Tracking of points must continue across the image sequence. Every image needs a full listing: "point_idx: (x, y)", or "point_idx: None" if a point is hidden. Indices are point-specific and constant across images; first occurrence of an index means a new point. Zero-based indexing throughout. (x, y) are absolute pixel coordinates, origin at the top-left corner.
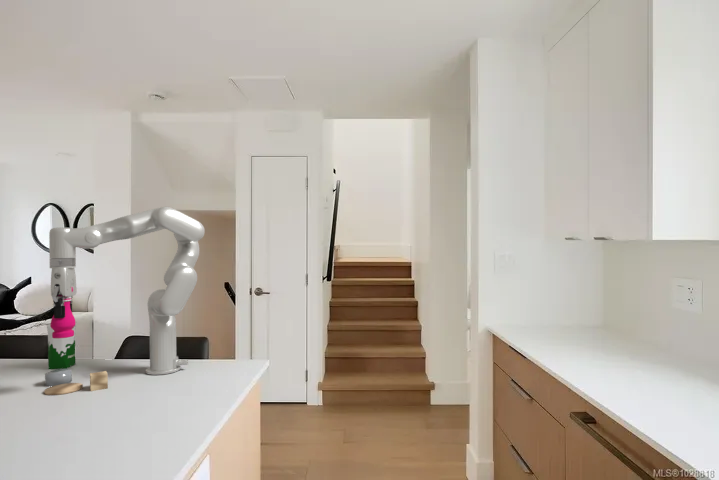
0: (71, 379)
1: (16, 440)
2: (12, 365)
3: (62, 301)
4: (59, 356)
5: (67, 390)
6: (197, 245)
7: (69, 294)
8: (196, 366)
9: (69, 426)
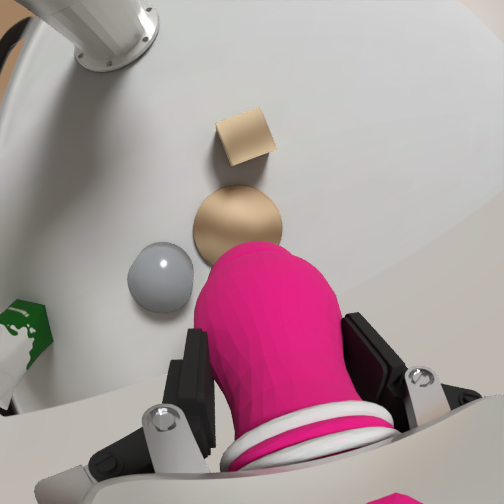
0: (158, 243)
1: (474, 200)
2: (43, 401)
3: (442, 395)
4: (36, 334)
5: (269, 209)
6: None
7: (465, 427)
8: None
9: (455, 143)
